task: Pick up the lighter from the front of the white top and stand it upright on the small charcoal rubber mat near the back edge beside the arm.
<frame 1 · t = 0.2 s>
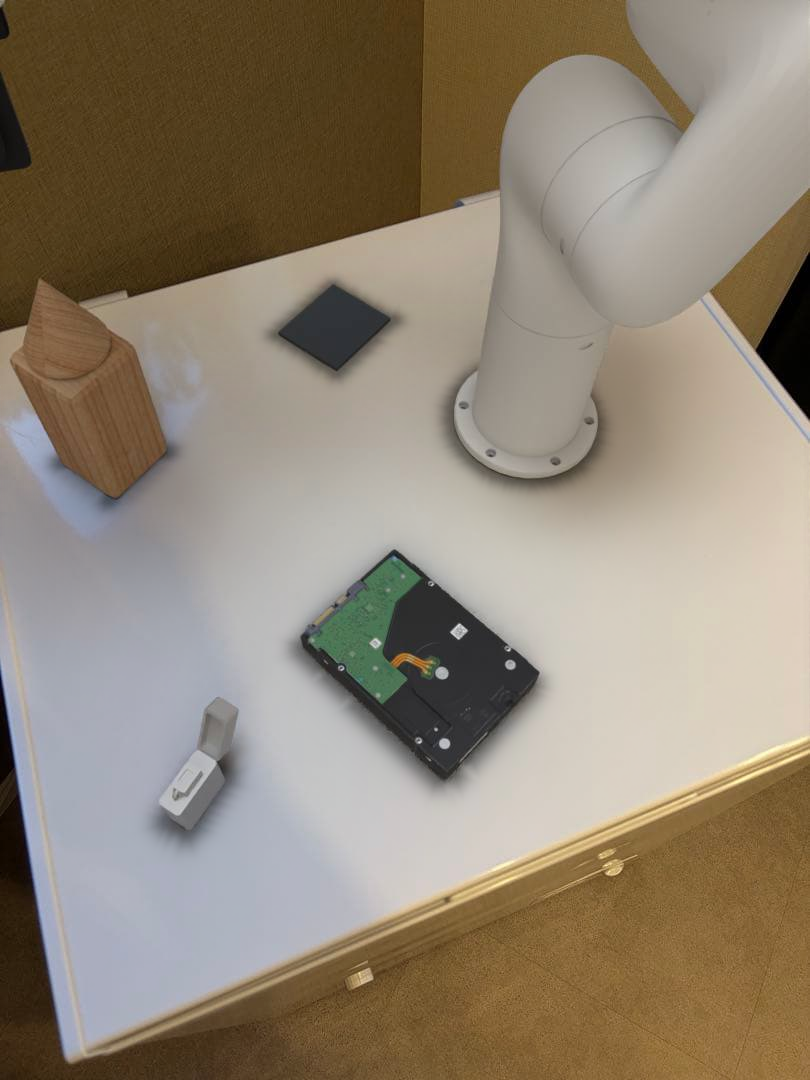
decorative item: (116, 458, 75), on the table
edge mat: (334, 327, 83), on the table
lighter: (212, 780, 62), on the table
disk drive: (417, 667, 67), on the table
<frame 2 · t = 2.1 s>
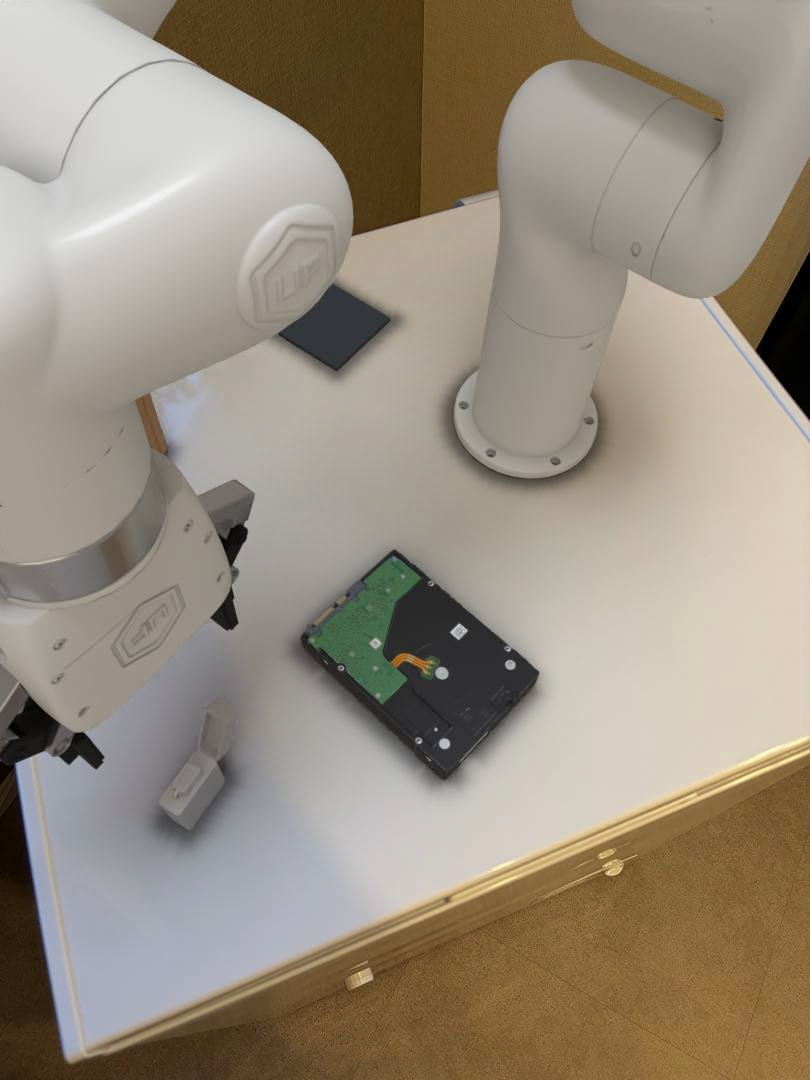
hand: (150, 677, 47), 18 cm above the table, tool pointing down, fingers open, 9 cm apart
nothing on the table moved.
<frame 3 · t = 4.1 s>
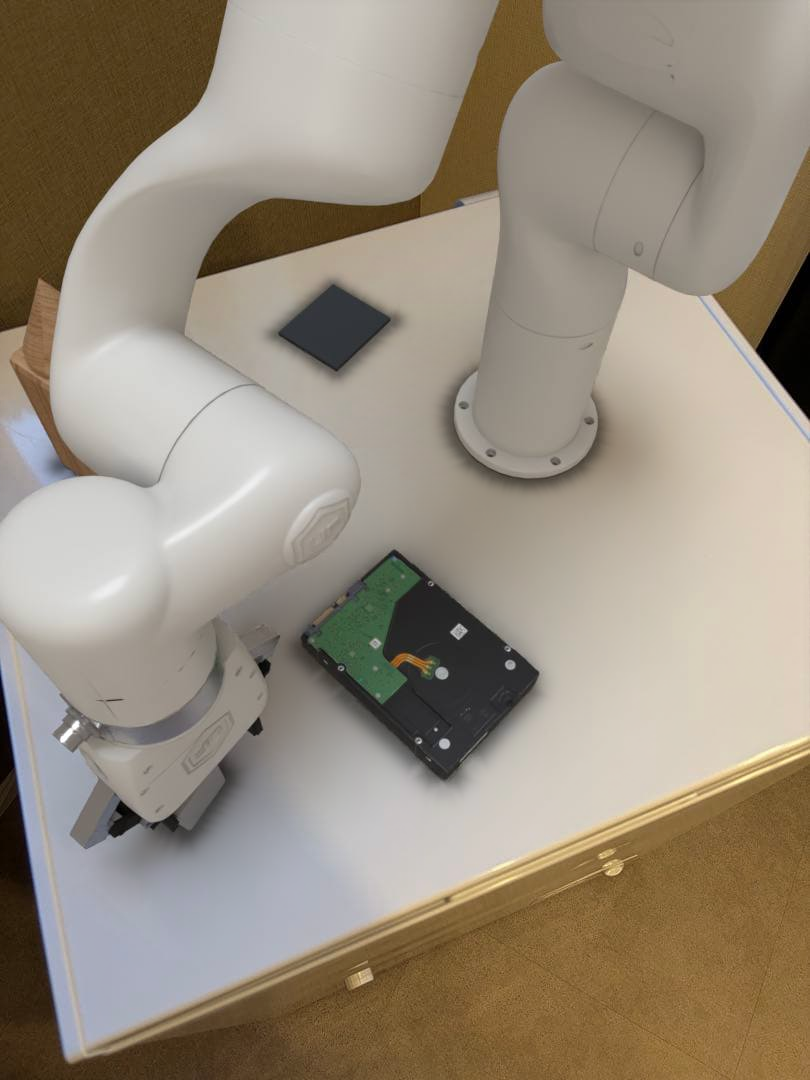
hand: (202, 765, 59), 3 cm above the table, tool pointing down, fingers closed on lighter, 7 cm apart
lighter: (212, 781, 62), on the table, touching gripper
everything else where it was.
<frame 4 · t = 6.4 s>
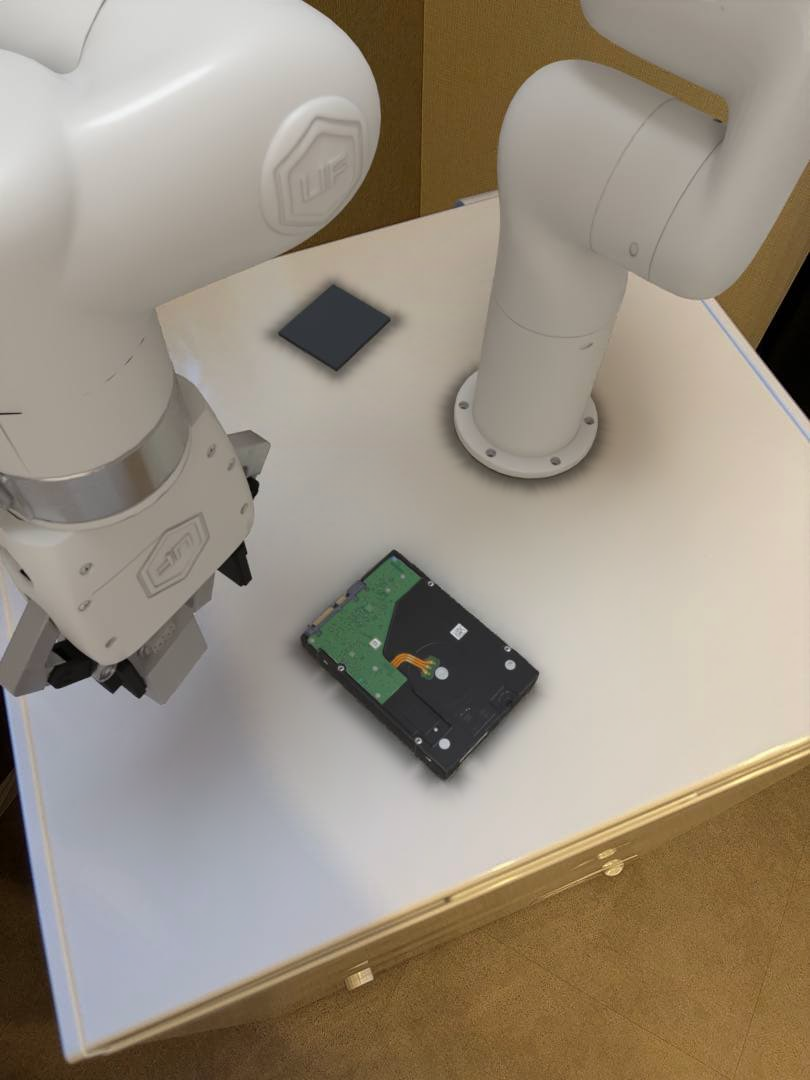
hand: (176, 621, 47), 19 cm above the table, tool pointing down, fingers closed on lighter, 7 cm apart
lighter: (191, 648, 50), point 15 cm above the table, touching gripper
everything else where it was.
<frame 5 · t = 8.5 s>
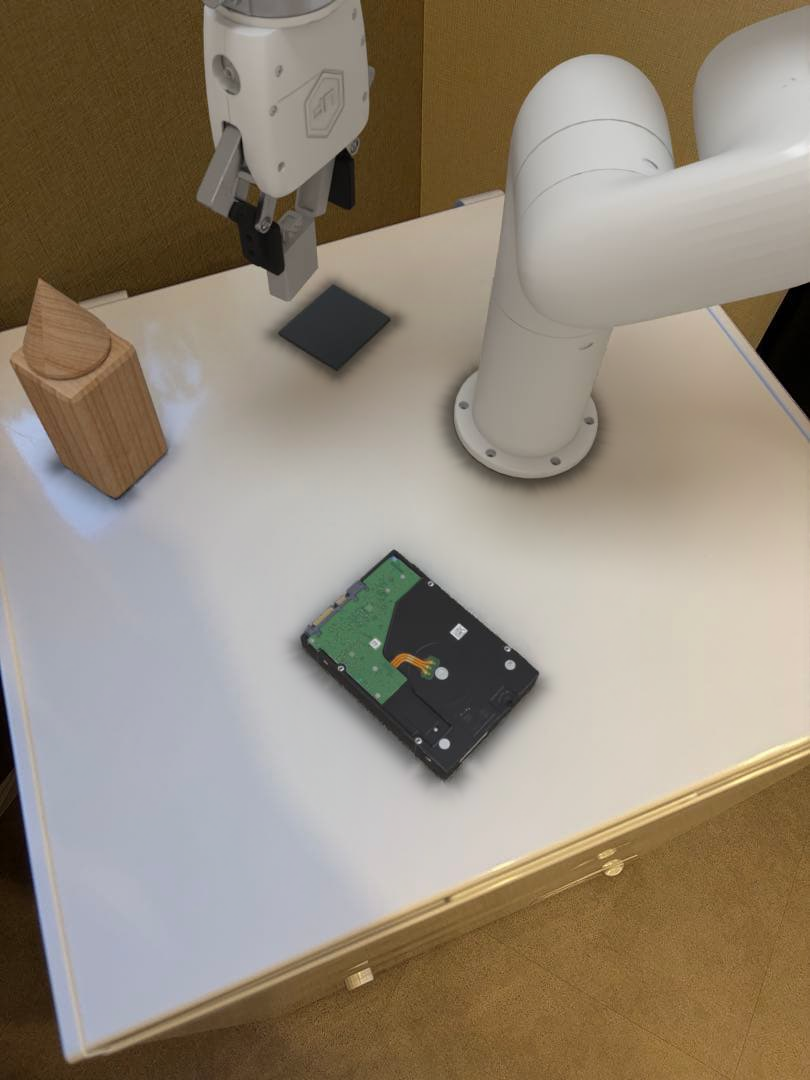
hand: (300, 230, 62), 20 cm above the table, tool pointing down, fingers closed on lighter, 7 cm apart
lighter: (305, 269, 65), point 16 cm above the table, touching gripper
everything else where it was.
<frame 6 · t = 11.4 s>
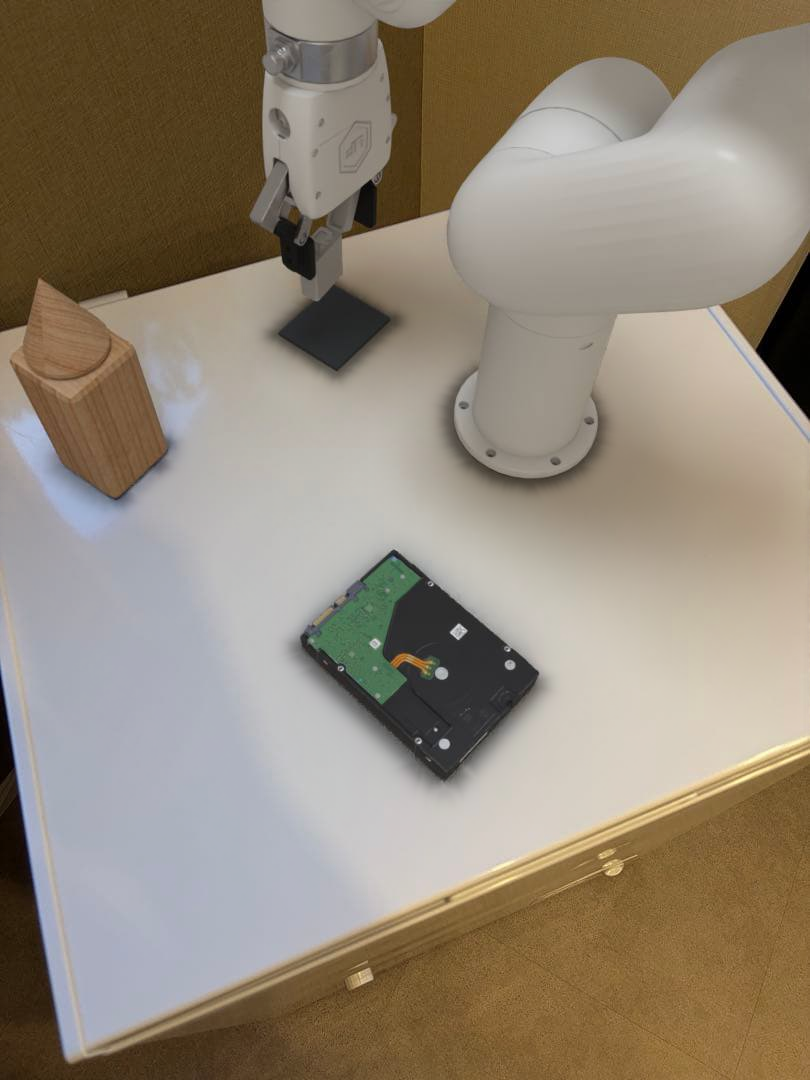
hand: (330, 243, 75), 10 cm above the table, tool pointing down, fingers closed on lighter, 7 cm apart
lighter: (331, 274, 78), point 7 cm above the table, touching gripper
everything else where it was.
when the fingers open (4 cm above the table, at t = 13.4 s): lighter stays where it is, resting on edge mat.
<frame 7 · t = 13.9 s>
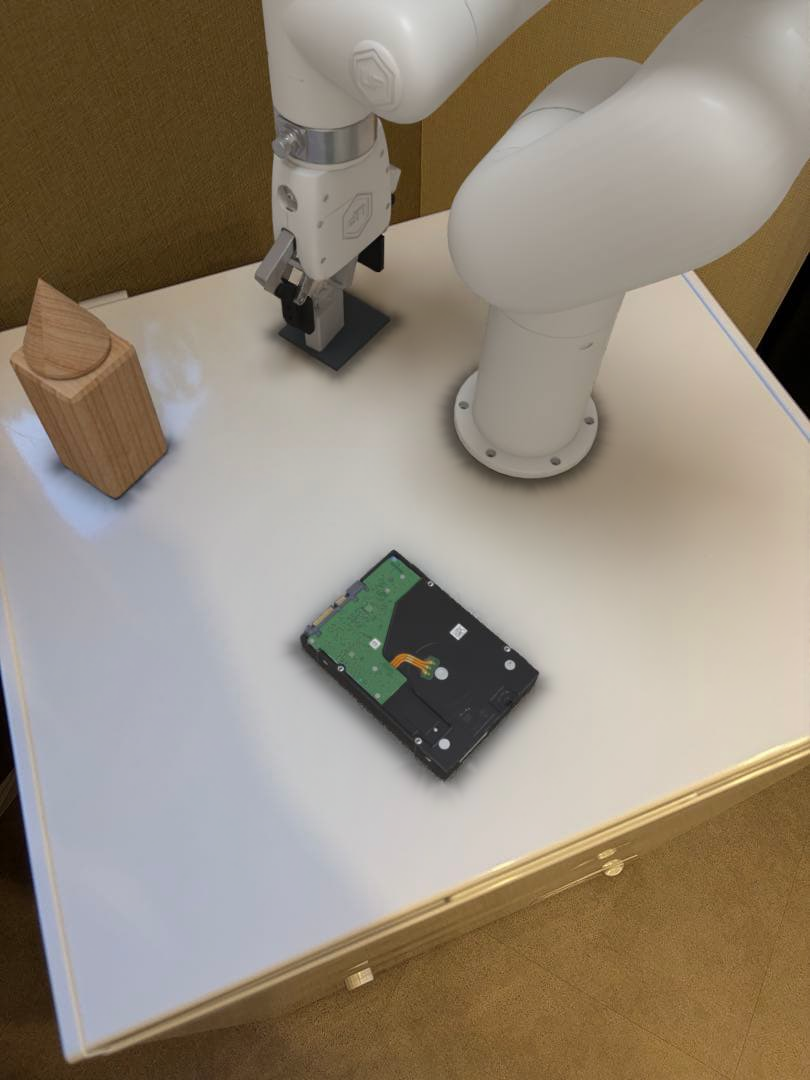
hand: (334, 294, 80), 4 cm above the table, tool pointing down, fingers open, 9 cm apart
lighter: (333, 325, 83), resting on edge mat
everything else where it was.
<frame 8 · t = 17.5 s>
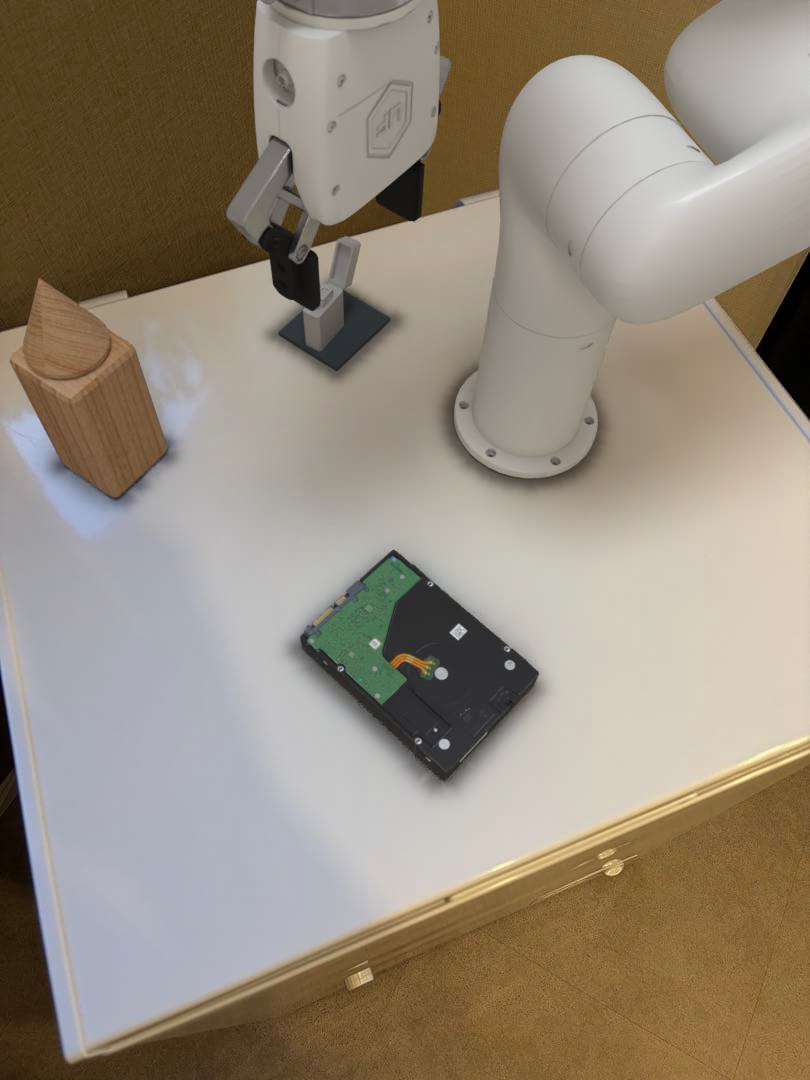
hand: (349, 252, 54), 24 cm above the table, tool pointing down, fingers open, 9 cm apart
nothing on the table moved.
at the end: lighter inside the target area on the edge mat (0.1 cm from its centre), point 0.2 cm above the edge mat's base; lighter tilted 0°; the gripper is holding nothing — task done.
